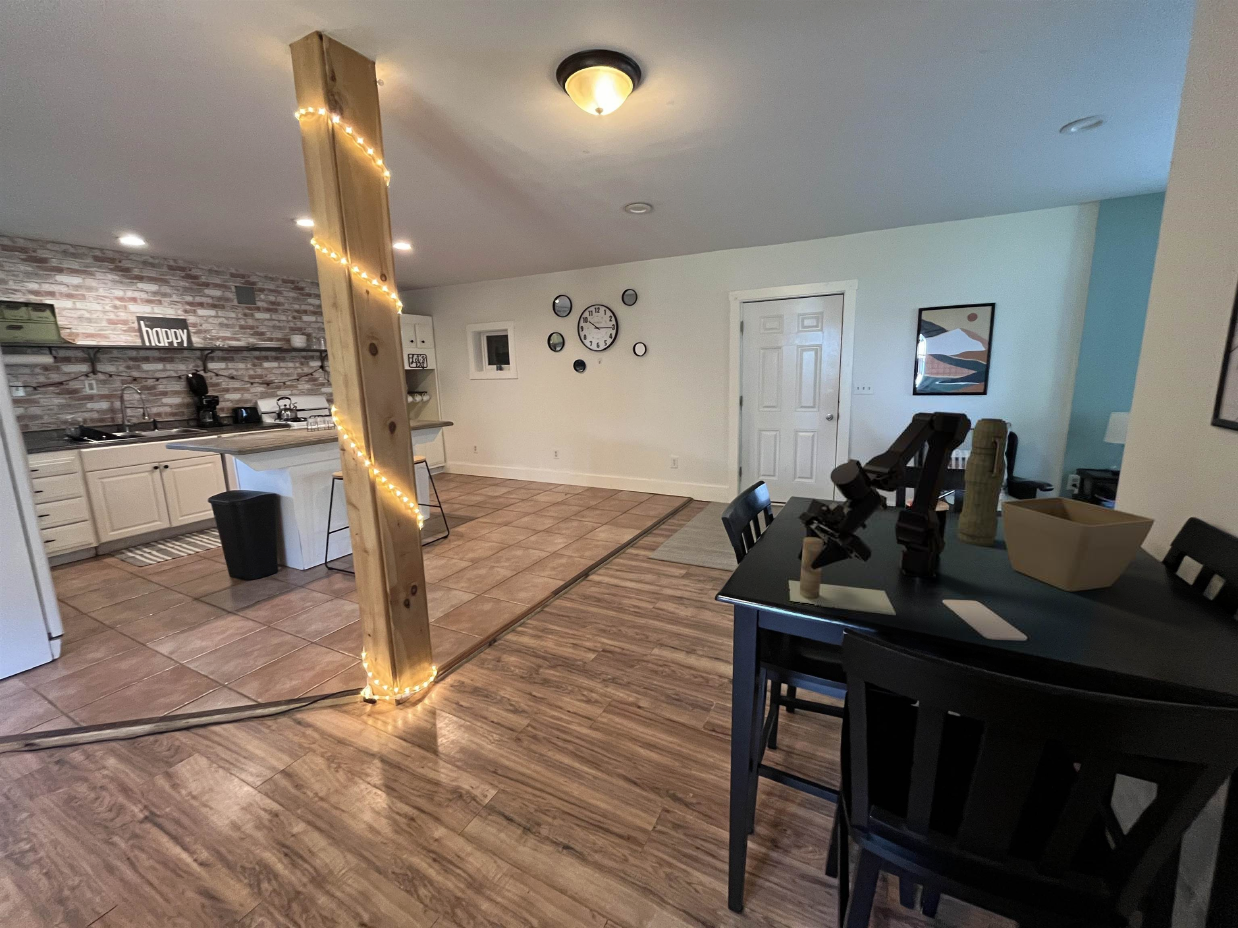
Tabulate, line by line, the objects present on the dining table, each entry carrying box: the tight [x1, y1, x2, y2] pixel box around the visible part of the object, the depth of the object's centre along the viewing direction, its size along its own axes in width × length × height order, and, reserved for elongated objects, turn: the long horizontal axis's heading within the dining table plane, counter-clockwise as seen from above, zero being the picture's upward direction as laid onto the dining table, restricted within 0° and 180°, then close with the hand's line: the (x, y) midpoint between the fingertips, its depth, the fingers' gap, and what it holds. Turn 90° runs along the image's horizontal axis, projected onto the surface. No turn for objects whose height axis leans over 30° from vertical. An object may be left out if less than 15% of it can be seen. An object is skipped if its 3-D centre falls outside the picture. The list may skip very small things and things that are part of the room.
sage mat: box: [788, 580, 897, 616], centre depth 104 cm, size 20×10×1 cm, turn 73°
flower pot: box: [1000, 496, 1156, 592], centre depth 110 cm, size 19×19×17 cm
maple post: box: [799, 536, 825, 599], centre depth 103 cm, size 4×4×12 cm
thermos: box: [956, 417, 1009, 547], centre depth 134 cm, size 9×12×35 cm
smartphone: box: [942, 599, 1028, 641], centre depth 94 cm, size 7×1×15 cm
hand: (805, 563), depth 103 cm, fingers open, 5 cm apart
